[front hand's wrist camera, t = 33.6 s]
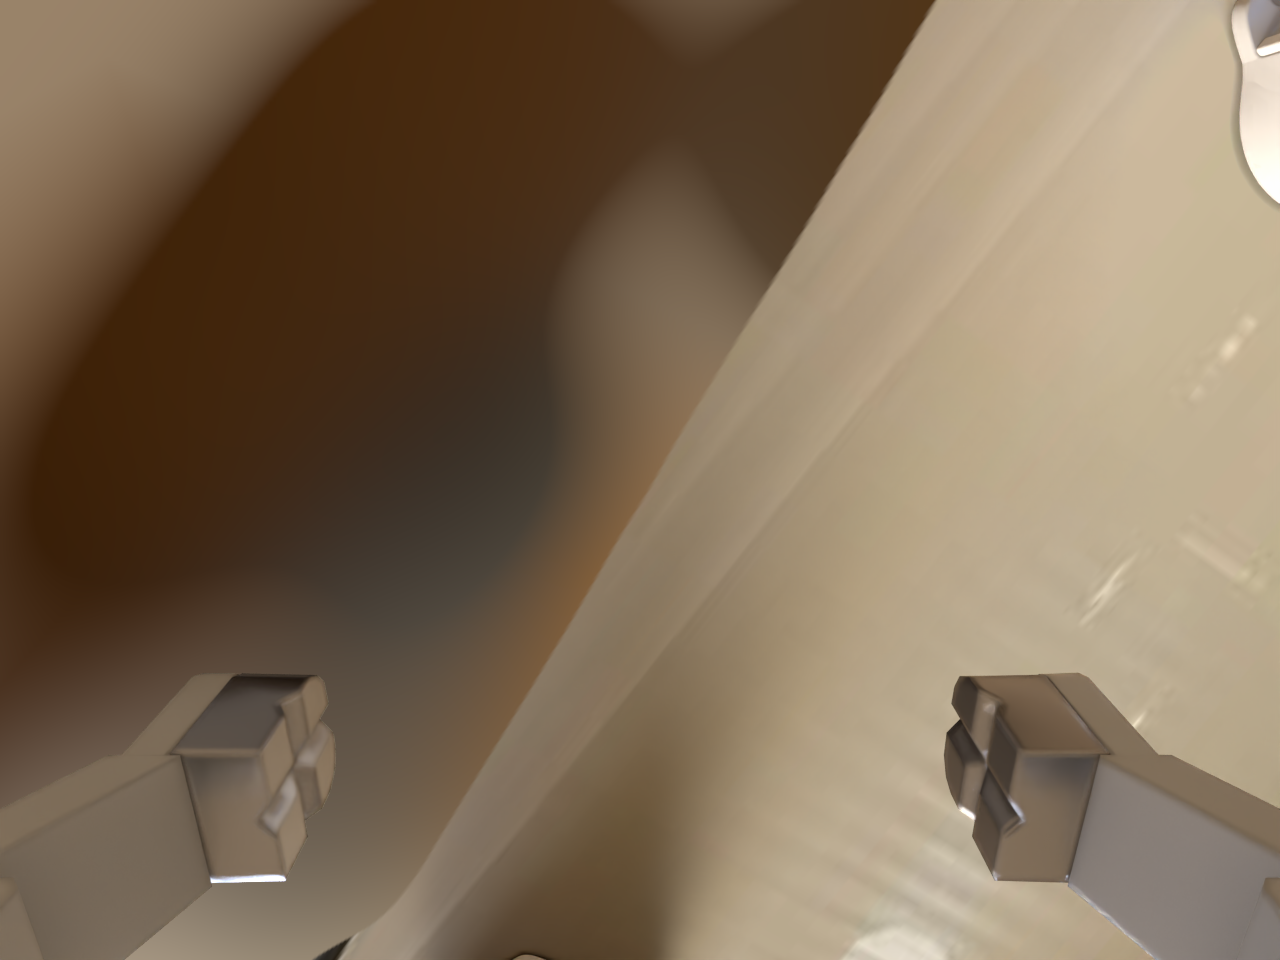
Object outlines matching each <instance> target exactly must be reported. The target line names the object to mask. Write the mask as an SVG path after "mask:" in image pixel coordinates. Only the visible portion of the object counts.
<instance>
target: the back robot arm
mask: <svg viewBox="0 0 1280 960" xmlns="http://www.w3.org/2000/svg"><path fill="white" fill-rule="evenodd" d="M513 960H545V959H543V958H540V957H537V956H533V955H521V956H518V957H516V958H515V959H513Z"/></svg>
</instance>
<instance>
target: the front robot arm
mask: <svg viewBox="0 0 1280 960" xmlns="http://www.w3.org/2000/svg"><path fill="white" fill-rule="evenodd" d="M1232 30H1233V34H1234V39H1235V42H1236V46H1237V49H1238V52H1239V55H1240V58H1241V61H1242V65H1243V81H1242V90H1241V100H1240V114H1239V121H1240V135H1241V141H1242V146H1243V150H1244V154H1245V157H1246V160H1247V162H1248V165H1249V167H1250V169H1251V171H1252V173H1253V175H1254V177H1255V178H1256V180H1257V181H1258V183H1259V184H1260V185H1261V187H1262V188H1263V189H1264V190H1265V191H1266V192H1267V193H1268V194H1269V195H1270V196H1271V197H1272V198H1273V199H1274V200H1275V201H1277V202H1278V203H1279V204H1280V0H1237V1H1236V3H1235V5H1234V8H1233V11H1232ZM951 704H952V705H953V707H954V709H955V711H956V712H957V714H958V716H959V717H960V720H959V721H958V722H957V723H956V724H955V725H954V726H953V727H952V728H951V729H950V730H949V731H948V732H947V734H946V742H945V750H944V761H945V772H946V779H947V782H948V786H949V789H950V792H951V795H952V797H953V799H954V801H955V803H956V805H957V807H958V809H959V810H961V811H962V812H964V813H965V814H966V815H968V816H969V817H971V818H972V819H974V820H975V823H974V829H973V834H972V837H973V839H974V841H975V843H976V845H977V847H978V849H979V851H980V853H981V855H982V857H983V859H984V861H985V863H986V864H987V866H988V868H989V870H990V872H991V874H992V876H993V878H994V880H995V881H1029V882H1065V883H1068V887H1070V888H1071V889H1072V890H1073V891H1074V892H1075V893H1077V894H1078V895H1079V896H1080V897H1081V898H1083V899H1084V900H1085V901H1086V902H1087V903H1089V904H1090V905H1091V906H1092V907H1093V908H1095V909H1096V910H1097V911H1098V912H1099V913H1101V914H1102V915H1103V916H1104V917H1105V918H1107V919H1108V920H1109V921H1110V922H1111V923H1113V924H1114V925H1115V926H1116V927H1117V928H1119V929H1120V930H1121V931H1122V932H1123V933H1124V934H1126V935H1127V936H1128V937H1129V938H1130V939H1132V940H1133V941H1134V942H1135V943H1136V944H1138V945H1139V946H1140V947H1141V948H1142V949H1144V950H1145V951H1146V952H1147V953H1148V954H1150V955H1151V956H1152V957H1153V958H1154V959H1156V960H1280V809H1279V808H1277V807H1275V806H1273V805H1271V804H1269V803H1267V802H1265V801H1263V800H1261V799H1259V798H1257V797H1255V796H1253V795H1251V794H1249V793H1247V792H1245V791H1243V790H1241V789H1239V788H1237V787H1235V786H1233V785H1231V784H1229V783H1227V782H1225V781H1223V780H1221V779H1219V778H1217V777H1215V776H1213V775H1211V774H1209V773H1206V772H1204V771H1202V770H1200V769H1198V768H1196V767H1194V766H1192V765H1190V764H1188V763H1186V762H1184V761H1182V760H1180V759H1178V758H1176V757H1174V756H1172V755H1158V754H1157V753H1156V752H1155V751H1154V750H1153V748H1152V747H1151V746H1150V745H1149V744H1148V743H1147V742H1146V741H1145V740H1144V738H1143V737H1142V736H1141V735H1140V734H1139V733H1138V732H1137V731H1136V730H1135V729H1134V727H1133V726H1132V725H1131V724H1130V723H1129V722H1128V721H1127V720H1126V719H1125V717H1124V716H1123V715H1122V714H1121V713H1120V712H1119V711H1118V710H1117V709H1116V708H1115V706H1114V705H1113V704H1112V703H1111V702H1110V701H1109V700H1108V699H1107V698H1106V696H1105V695H1104V694H1103V693H1102V692H1101V691H1100V690H1099V689H1098V688H1097V686H1096V685H1095V684H1094V683H1093V682H1092V681H1091V680H1090V679H1089V678H1088V677H1086V676H1084V675H1082V674H1080V673H1057V674H1039V675H1001V676H960V677H959V679H958V681H957V683H956V685H955V687H954V692H953V698H952V703H951ZM327 705H328V699H327V694H326V689H325V684H324V681H323V680H322V679H321V678H320V677H319V676H317V675H288V674H236V673H203V674H200V675H196V676H193V677H192V678H191V679H190V680H189V681H188V682H187V683H186V684H185V685H184V687H183V688H182V689H181V690H180V691H179V692H178V693H177V694H176V695H175V696H174V698H173V699H172V700H171V701H170V702H169V703H168V704H167V705H166V706H165V708H164V709H163V710H162V711H161V712H160V713H159V714H158V715H157V716H156V717H155V719H154V720H153V721H152V722H151V723H150V724H149V725H148V726H147V727H146V729H145V730H144V731H143V732H142V733H141V734H140V735H139V736H138V737H137V738H136V740H135V741H134V742H133V743H132V744H131V745H130V746H129V747H128V748H127V750H126V751H125V752H124V753H123V754H122V755H108V756H106V757H104V758H102V759H100V760H98V761H96V762H94V763H92V764H90V765H88V766H86V767H84V768H82V769H80V770H78V771H76V772H73V773H71V774H69V775H67V776H65V777H63V778H61V779H59V780H57V781H55V782H53V783H51V784H49V785H47V786H45V787H43V788H41V789H39V790H37V791H35V792H33V793H31V794H29V795H27V796H25V797H23V798H21V799H19V800H17V801H15V802H13V803H11V804H9V805H7V806H5V807H3V808H1V809H0V960H125V959H126V958H127V957H128V956H129V955H131V954H132V953H133V952H134V951H135V950H137V949H138V948H139V947H140V946H141V945H143V944H144V943H145V942H146V941H147V940H149V939H150V938H151V937H152V936H153V935H155V934H156V933H157V932H158V931H159V930H161V929H162V928H163V927H164V926H165V925H167V924H168V923H169V922H170V921H171V920H173V919H174V918H175V917H176V916H177V915H179V914H180V913H181V912H182V911H183V910H185V909H186V908H187V907H188V906H189V905H191V904H192V903H193V902H194V901H195V900H196V899H198V898H199V897H200V896H201V895H202V894H204V893H205V892H206V891H207V890H208V889H210V888H211V887H212V883H215V882H249V881H283V880H286V878H287V876H288V874H289V872H290V870H291V868H292V867H293V865H294V863H295V861H296V859H297V857H298V855H299V853H300V851H301V849H302V847H303V845H304V843H305V841H306V839H307V837H308V835H307V829H306V823H305V820H306V819H308V818H309V817H311V816H312V815H314V814H315V813H316V812H318V811H319V810H321V809H322V807H323V805H324V803H325V801H326V799H327V797H328V795H329V792H330V790H331V785H332V781H333V776H334V772H335V763H336V748H335V741H334V734H333V732H332V731H331V730H330V729H329V728H328V727H327V726H326V725H325V724H324V723H323V722H322V721H321V720H320V717H321V716H322V714H323V712H324V711H325V709H326V707H327Z"/></svg>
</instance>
